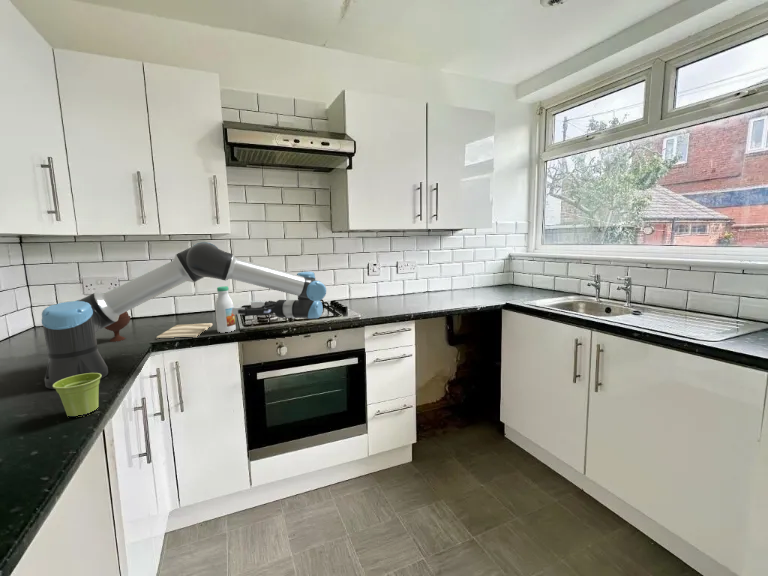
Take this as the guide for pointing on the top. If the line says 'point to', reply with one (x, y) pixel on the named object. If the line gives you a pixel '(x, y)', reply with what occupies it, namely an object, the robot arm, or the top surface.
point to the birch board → (185, 330)
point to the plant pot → (79, 393)
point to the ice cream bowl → (119, 326)
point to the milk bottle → (224, 311)
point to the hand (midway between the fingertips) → (242, 307)
